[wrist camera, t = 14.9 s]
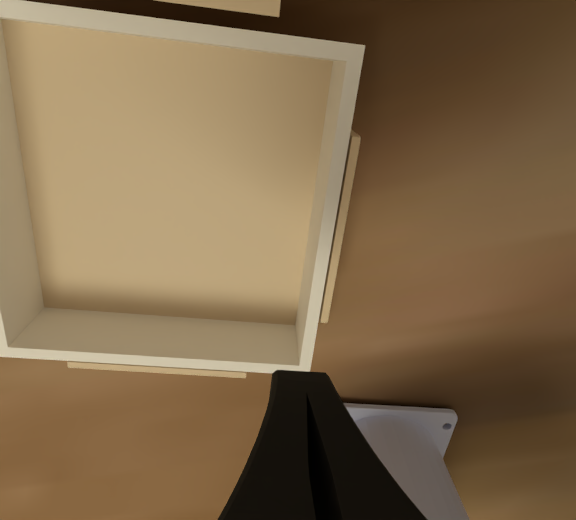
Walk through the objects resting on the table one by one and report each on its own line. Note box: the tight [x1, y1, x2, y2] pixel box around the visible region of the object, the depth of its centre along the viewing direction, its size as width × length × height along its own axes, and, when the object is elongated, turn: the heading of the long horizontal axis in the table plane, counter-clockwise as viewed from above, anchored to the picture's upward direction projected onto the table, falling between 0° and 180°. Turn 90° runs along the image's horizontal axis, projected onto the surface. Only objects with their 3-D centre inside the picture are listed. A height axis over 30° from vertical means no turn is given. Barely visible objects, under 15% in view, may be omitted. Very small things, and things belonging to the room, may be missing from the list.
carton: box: [0, 0, 365, 378], centre depth 17 cm, size 13×13×4 cm
